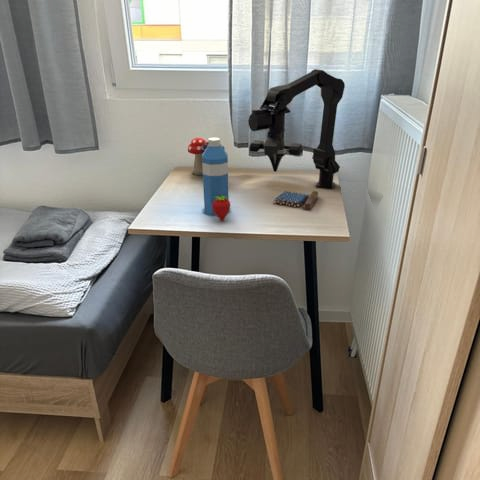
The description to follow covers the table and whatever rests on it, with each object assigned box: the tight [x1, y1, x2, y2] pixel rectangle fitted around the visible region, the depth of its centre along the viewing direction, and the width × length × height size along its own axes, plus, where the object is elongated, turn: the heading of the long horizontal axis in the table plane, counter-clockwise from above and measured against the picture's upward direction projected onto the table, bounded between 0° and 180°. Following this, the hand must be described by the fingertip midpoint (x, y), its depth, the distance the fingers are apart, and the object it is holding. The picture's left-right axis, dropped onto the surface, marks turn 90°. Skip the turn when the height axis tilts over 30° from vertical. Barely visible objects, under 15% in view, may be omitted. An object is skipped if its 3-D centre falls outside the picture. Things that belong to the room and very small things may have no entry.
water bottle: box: [202, 137, 230, 216], centre depth 169 cm, size 9×9×25 cm
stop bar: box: [303, 190, 319, 211], centre depth 181 cm, size 14×2×2 cm, turn 161°
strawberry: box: [212, 192, 231, 222], centre depth 166 cm, size 6×8×10 cm
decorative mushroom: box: [187, 137, 207, 176], centre depth 209 cm, size 10×9×15 cm
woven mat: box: [273, 190, 310, 208], centre depth 183 cm, size 10×11×2 cm
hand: (275, 171), depth 181 cm, fingers closed
